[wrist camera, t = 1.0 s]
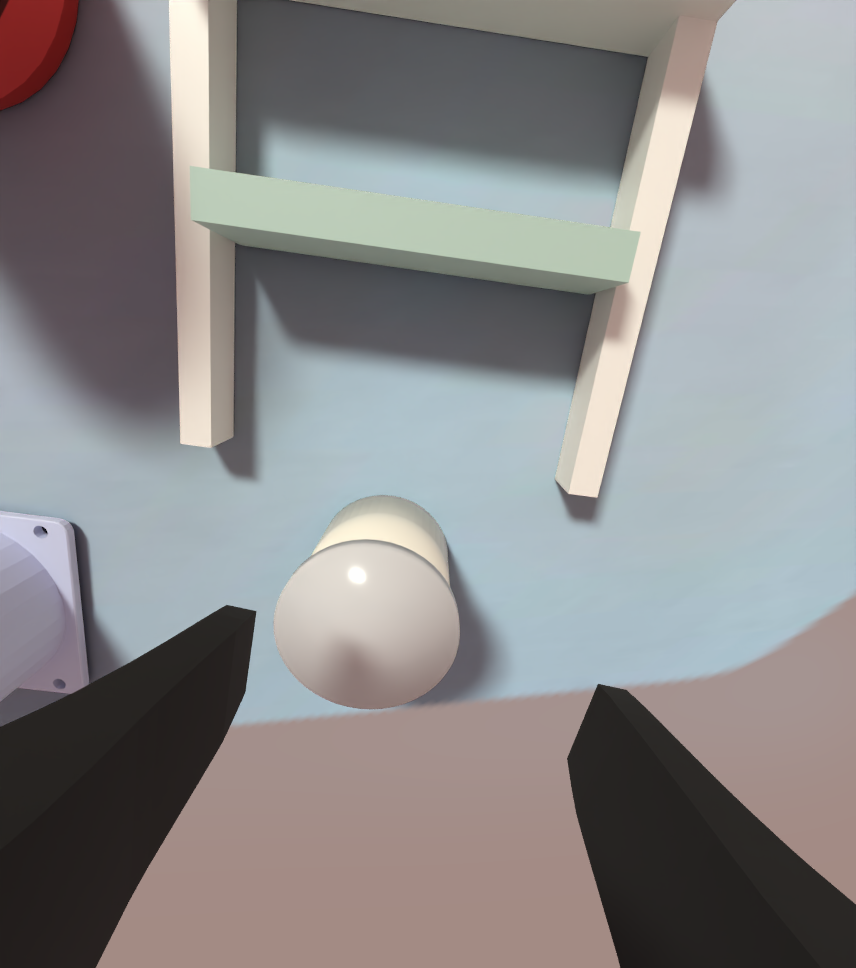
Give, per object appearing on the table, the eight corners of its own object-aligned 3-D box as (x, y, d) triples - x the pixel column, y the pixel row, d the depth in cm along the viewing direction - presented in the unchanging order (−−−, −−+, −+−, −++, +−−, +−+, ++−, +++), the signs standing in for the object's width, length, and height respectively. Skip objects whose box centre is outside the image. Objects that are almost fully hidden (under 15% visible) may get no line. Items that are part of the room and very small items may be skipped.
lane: (206, 433, 17) (139, 460, 13) (201, -59, 13) (103, -229, 9) (581, 482, 17) (622, 521, 14) (691, 19, 13) (796, -111, 9)
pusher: (240, 245, 15) (191, 220, 12) (241, 203, 14) (189, 165, 11) (589, 294, 15) (628, 282, 12) (597, 254, 15) (640, 232, 12)
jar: (312, 605, 19) (270, 698, 14) (321, 481, 18) (276, 536, 13) (442, 621, 19) (445, 718, 14) (462, 499, 18) (473, 561, 13)
